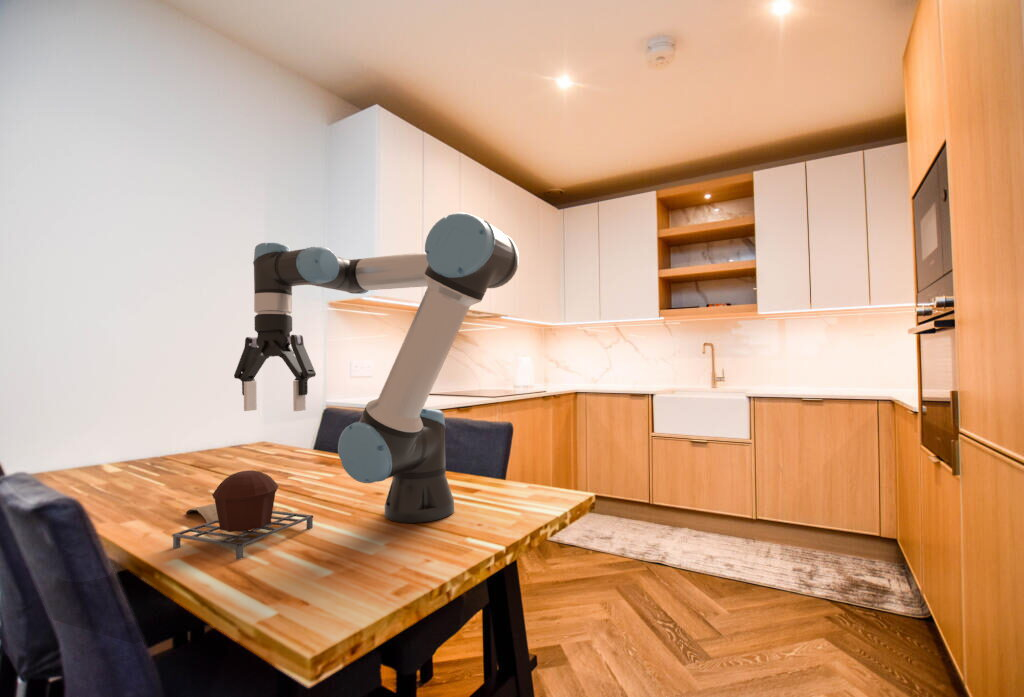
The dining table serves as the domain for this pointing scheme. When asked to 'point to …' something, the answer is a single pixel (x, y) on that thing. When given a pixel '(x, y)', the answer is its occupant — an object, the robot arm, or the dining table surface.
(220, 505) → the muffin
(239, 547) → the cooling rack
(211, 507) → the curved bark piece
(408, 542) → the dining table surface
